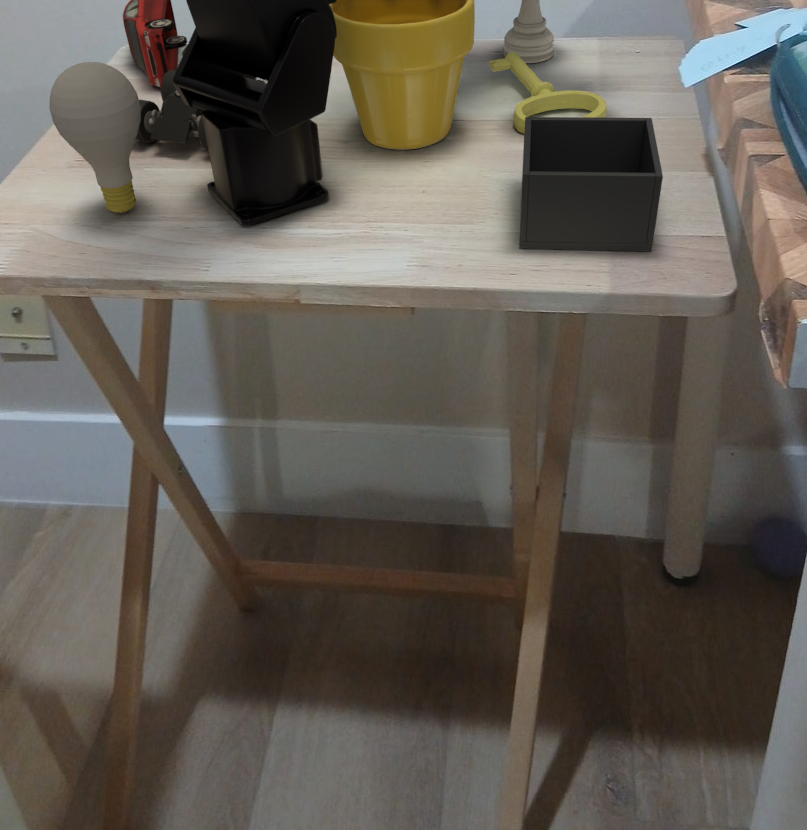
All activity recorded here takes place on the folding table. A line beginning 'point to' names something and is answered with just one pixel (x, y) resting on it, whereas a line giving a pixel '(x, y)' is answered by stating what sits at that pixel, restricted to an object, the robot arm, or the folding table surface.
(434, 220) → the folding table surface
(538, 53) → the chess piece
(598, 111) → the key
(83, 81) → the light bulb
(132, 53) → the toy car
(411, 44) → the flower pot
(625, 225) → the bin
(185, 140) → the toy vehicle
